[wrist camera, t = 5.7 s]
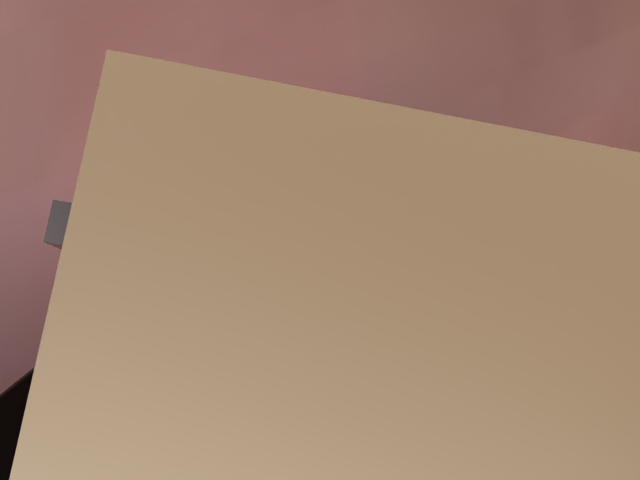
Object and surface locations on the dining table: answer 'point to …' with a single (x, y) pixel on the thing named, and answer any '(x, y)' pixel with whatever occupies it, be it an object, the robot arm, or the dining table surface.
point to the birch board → (334, 293)
